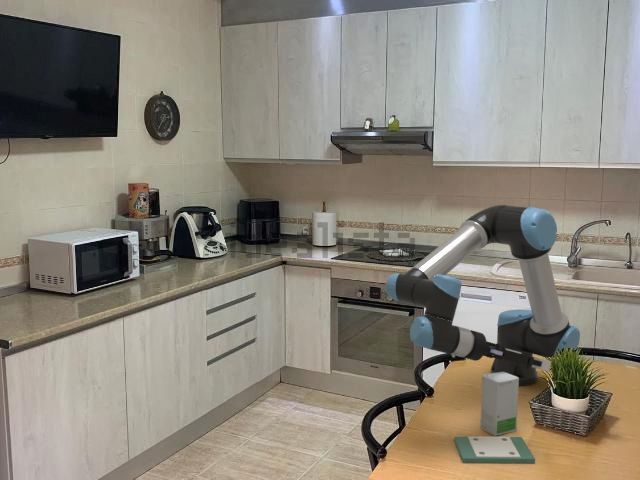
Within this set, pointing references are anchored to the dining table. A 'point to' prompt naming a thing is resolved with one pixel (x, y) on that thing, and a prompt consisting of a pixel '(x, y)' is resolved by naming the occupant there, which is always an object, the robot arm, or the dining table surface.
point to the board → (493, 450)
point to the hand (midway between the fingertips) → (534, 361)
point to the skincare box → (499, 403)
